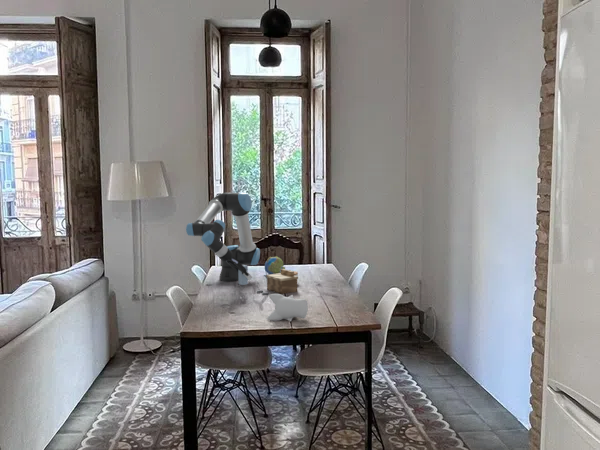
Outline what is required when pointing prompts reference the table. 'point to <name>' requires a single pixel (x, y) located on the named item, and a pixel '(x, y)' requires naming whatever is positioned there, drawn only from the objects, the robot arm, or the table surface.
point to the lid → (283, 275)
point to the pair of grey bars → (263, 292)
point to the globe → (274, 265)
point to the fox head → (287, 307)
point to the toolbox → (282, 285)
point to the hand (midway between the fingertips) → (248, 278)
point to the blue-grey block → (243, 277)
